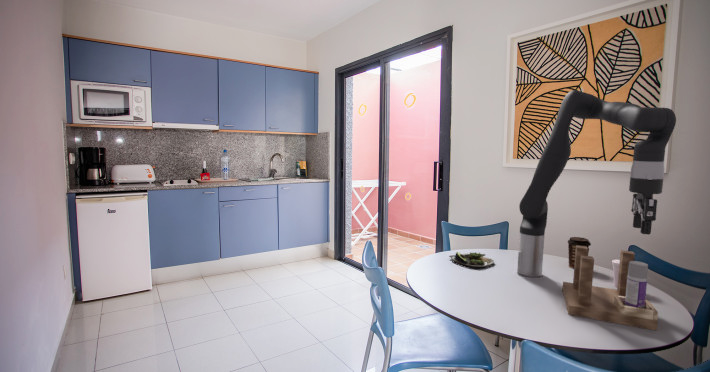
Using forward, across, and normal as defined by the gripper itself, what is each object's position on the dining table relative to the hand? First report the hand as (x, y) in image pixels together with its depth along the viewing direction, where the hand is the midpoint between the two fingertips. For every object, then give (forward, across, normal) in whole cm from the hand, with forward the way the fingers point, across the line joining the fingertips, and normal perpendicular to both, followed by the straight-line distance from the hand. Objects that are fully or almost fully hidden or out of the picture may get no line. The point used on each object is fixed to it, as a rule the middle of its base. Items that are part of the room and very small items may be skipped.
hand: (641, 230), depth 104 cm
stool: (+28, -6, -6) cm, 29 cm away
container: (+25, 0, 0) cm, 25 cm away
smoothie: (+28, -30, +3) cm, 42 cm away
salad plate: (+29, -34, -52) cm, 69 cm away
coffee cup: (+28, -48, -9) cm, 57 cm away
